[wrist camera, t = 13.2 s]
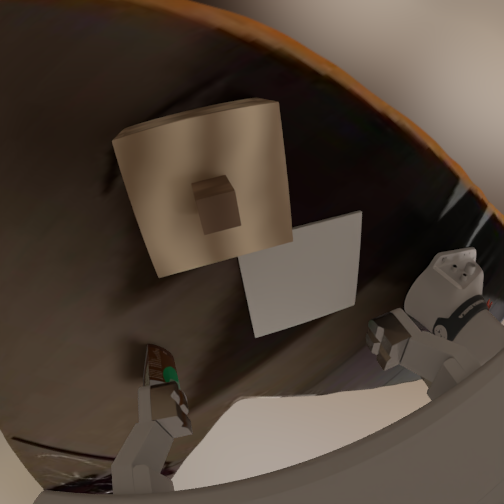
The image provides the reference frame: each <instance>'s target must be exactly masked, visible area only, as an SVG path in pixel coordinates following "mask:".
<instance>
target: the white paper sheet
mask: <svg viewBox="0 0 504 504" xmlns="http://www.w3.org/2000/svg"><path fill="white" fill-rule="evenodd" d="M361 223H362V212H361V211H356V212H352V213H348V214H344V215H340V216H336V217H332V218H328V219H324V220H320V221H316V222H313V223H309V224H305V225H301V226H297V227H293V228H292V233H293V242H289V243H286V244H282V245H278V246H275V247H271V248H267V249H264V250H260V251H256V252H253V253H249V254H245V255H242V256H238V261H239V265H240V270H241V275H242V280H243V284H244V289H245V294H246V299H247V303H248V308H249V313H250V317H251V322H252V326H253V331H254V336H255V338H257V337H260V336H264V335H267V334H270V333H273V332H277V331H280V330H283V329H286V328H289V327H292V326H295V325H298V324H301V323H304V322H307V321H310V320H313V319H316V318H319V317H322V316H325V315H328V314H331V313H333V312H336V311H339V310H342V309H344V308H347V307H350V306H353V305H355V296H356V287H357V277H358V267H359V254H360V240H361Z"/></svg>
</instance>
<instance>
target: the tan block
mask: <svg viewBox="0 0 504 504" xmlns="http://www.w3.org/2000/svg"><path fill="white" fill-rule="evenodd" d="M112 143H113V147H114V150H115V154H116V157H117V161H118V164H119V167H120V171H121V174H122V177H123V180H124V184H125V187H126V190H127V193H128V196H129V199H130V202H131V205H132V208H133V211H134V214H135V216H136V219H137V222H138V225H139V228H140V231H141V233H142V236H143V239H144V241H145V244H146V247H147V249H148V252H149V255H150V257H151V260H152V262H153V265H154V267H155V270H156V272H157V275H158V277H159V278H160V277H164V276H168V275H172V274H175V273H179V272H183V271H186V270H190V269H194V268H197V267H201V266H205V265H208V264H212V263H216V262H219V261H223V260H227V259H230V258H234V257H238V256H242V255H245V254H249V253H253V252H256V251H260V250H264V249H267V248H271V247H275V246H278V245H282V244H286V243H289V242H293V233H292V221H291V210H290V199H289V189H288V179H287V169H286V160H285V151H284V142H283V134H282V125H281V117H280V109H279V102H276V101H271V100H266V99H261V98H249V99H243V100H237V101H231V102H226V103H221V104H216V105H211V106H206V107H201V108H197V109H193V110H188V111H184V112H180V113H176V114H172V115H168V116H164V117H161V118H157V119H154V120H150V121H147V122H143V123H140V124H136V125H133V126H130V127H127V128H124V129H123V130H122V131H121V132H120V133H119V134H118V135H117V136H116V137H115V138H114V139H113V140H112Z"/></svg>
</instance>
